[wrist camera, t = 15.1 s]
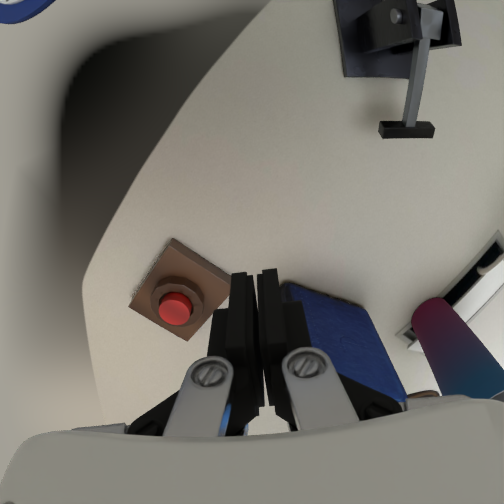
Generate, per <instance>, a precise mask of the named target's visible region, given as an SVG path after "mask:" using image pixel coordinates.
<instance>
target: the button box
mask: <svg viewBox="0 0 504 504" xmlns="http://www.w3.org/2000/svg"><path fill="white" fill-rule="evenodd" d="M230 285H231V276H230V275H228V274H227V273H225V272H224V271H222V270H221V269H219V268H218V267H216V266H214V265H213V264H211V263H210V262H208V261H207V260H205V259H204V258H202V257H201V256H199V255H198V254H196V253H195V252H193V251H192V250H190V249H189V248H187V247H186V246H184V245H182V244H181V243H179V242H178V241H176V240H175V239H172V240H171V241H170V243H169V244H168V246H167V247H166V249H165V250H164V252H163V253H162V254H161V256H160V257H159V259H158V260H157V262H156V263H155V265H154V266H153V268H152V269H151V271H150V272H149V274H148V275H147V277H146V278H145V280H144V281H143V283H142V284H141V286H140V288H139V289H138V291H137V292H136V294H135V295H134V297H133V298H132V300H131V302H130V304H129V307H130V308H131V309H133V310H134V311H136V312H138V313H139V314H141V315H143V316H144V317H146V318H148V319H149V320H151V321H153V322H154V323H156V324H158V325H159V326H161V327H163V328H164V329H166V330H168V331H170V332H171V333H173V334H175V335H177V336H178V337H180V338H182V339H184V340H185V341H188V340H189V339H190V338H191V337H192V336H193V335H194V334H195V333H196V332H197V330H198V329H199V328H200V327H201V326H202V325H203V324H204V323H205V322H206V320H207V319H208V318H209V317H210V316H211V315H212V314H213V312H214V310H215V309H217V308H218V307H219V306H220V305H221V304H222V303H223V301H224V300H225V299H226V298H227V297H228V296H229V295H230ZM171 292H177V293H181V294H183V295H185V296H186V297H187V298H188V299H189V300H190V302H191V305H192V309H191V313H190V317H189V319H188V321H187V322H185V323H184V324H181V325H173V324H169V323H167V322H166V321H164V320H163V319H162V318H161V316H160V314H159V306H160V304H161V301H162V299H163V297H164V296H165V295H166V294H168V293H171Z"/></svg>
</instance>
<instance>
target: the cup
mask: <svg viewBox="0 0 504 504" xmlns="http://www.w3.org/2000/svg"><path fill="white" fill-rule="evenodd" d="M411 324H412V327H413V329H414V332H415V334H416V336H417V338H418V340H419V342H420V344H421V347H422V349H423V351H424V353H425V356H426V358H427V360H428V362H429V365H430V367H431V369H432V372H433V374H434V376H435V379H436V381H437V384H438V386H439V388H440V391H441V393H442V396H448V395H466V396H468V397H470V398H472V399H491V400H497V401H501V402H504V370H503V368H502V367H501V366H500V365H499V363H498V362H497V361H496V359H495V358H494V357H493V356H492V354H491V353H490V352H489V351H488V349H487V348H486V347H485V346H484V345H483V343H482V342H481V341H480V340H479V339H478V337H477V336H476V335H475V334H474V333H473V331H472V330H471V329H470V328H469V327H468V326H467V324H466V323H465V322H464V321H463V320H462V319H461V318H460V316H459V315H458V314H457V313H456V312H455V311H454V310H453V309H452V307H451V306H450V305H449V304H448V303H447V302H446V301H445V300H444V299H442V298H432V299H429V300H427V301H425V302H424V303H422V304H421V305H420V306H419V307H418V308H417V309H416V311H415V312H414V314H413V316H412V320H411Z"/></svg>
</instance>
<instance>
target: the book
mask: <svg viewBox="0 0 504 504" xmlns="http://www.w3.org/2000/svg"><path fill="white" fill-rule="evenodd" d="M279 288H280V295H281V302H289V301H297V300H301V301H302V304H303V308H304V313H305V317H306V322H307V326H308V331H309V335H310V340H311V345H312V347H314V348H317V349H320V350H322V351H324V352H325V353H326V354H327V355H328V356H329V358H330V360H331V362H332V364H333V366H334V368H335V370H336V372H338V373H340V374H342V375H344V376H346V377H348V378H350V379H353V380H355V381H357V382H359V383H361V384H363V385H365V386H368V387H370V388H372V389H374V390H376V391H379V392H381V393H383V394H385V395H387V396H390V397H392V398H393V399H395V400H396V401H397V402H405V400H406V398H408V397H407V394H406V392H405V389H404V387H403V385H402V383H401V381H400V379H399V377H398V375H397V373H396V371H395V369H394V367H393V364H392V362H391V360H390V358H389V356H388V354H387V352H386V349H385V347H384V345H383V343H382V341H381V339H380V337H379V335H378V333H377V331H376V329H375V326H374V324H373V322H372V320H371V318H370V316H369V314H368V312H367V311H366V310H365V309H363V308H361V307H359V306H357V305H355V304H352V303H348V302H346V301H344V300H340V299H338V298H331V297H329V296H328V295H325V294H320V293H317V292H315V291H313V290H309V289H305V288H303V287H301V286H300V285H296V284H293V283H284V284H282V285H281V286H280V287H279Z"/></svg>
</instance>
